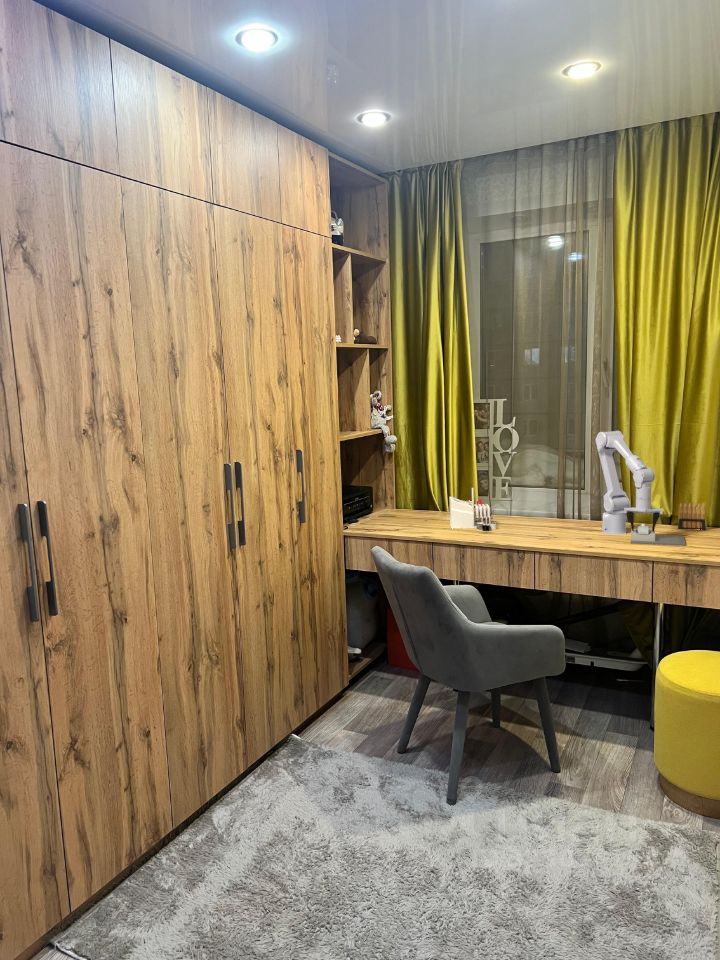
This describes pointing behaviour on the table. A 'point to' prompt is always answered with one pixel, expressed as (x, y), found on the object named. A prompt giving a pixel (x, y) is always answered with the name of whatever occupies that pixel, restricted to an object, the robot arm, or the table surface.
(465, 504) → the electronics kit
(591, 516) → the table surface
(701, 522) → the ammunition clip
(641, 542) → the servo chassis
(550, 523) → the table surface
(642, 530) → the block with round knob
